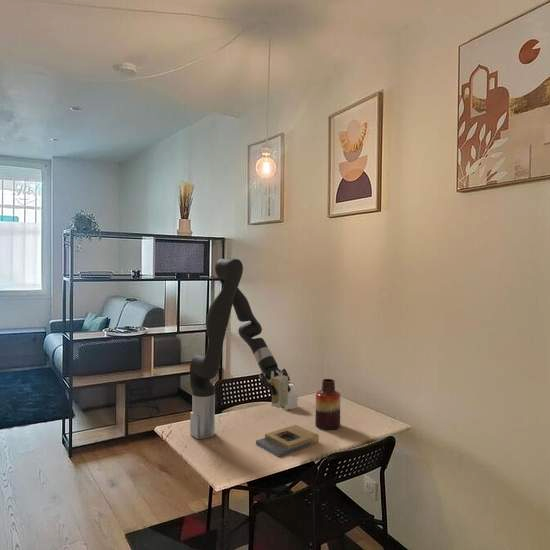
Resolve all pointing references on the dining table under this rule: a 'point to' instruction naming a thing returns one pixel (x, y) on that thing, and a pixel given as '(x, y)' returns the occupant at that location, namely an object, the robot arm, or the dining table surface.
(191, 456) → the dining table surface
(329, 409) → the vase
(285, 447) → the tan flat frame
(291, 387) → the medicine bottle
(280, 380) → the skincare box
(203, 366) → the robot arm
